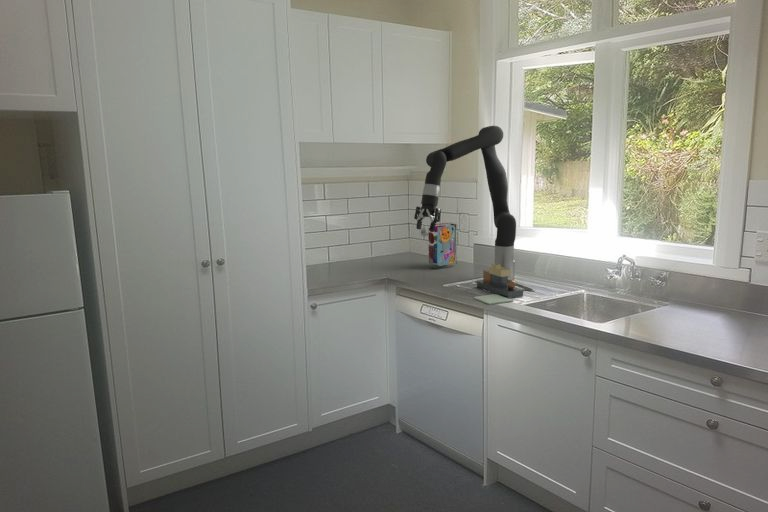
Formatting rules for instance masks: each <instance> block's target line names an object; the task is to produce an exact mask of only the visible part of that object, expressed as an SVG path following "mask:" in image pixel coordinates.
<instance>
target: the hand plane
mask: <svg viewBox="0 0 768 512" xmlns="http://www.w3.org/2000/svg"><path fill="white" fill-rule="evenodd" d="M482 273H483V274H482V280H477V281H476V288H477V289H481V290H483V291H486V292H489V293H491V294H497V295H500V296H503V297H506V298H508V299H515V298H523V297H524V289H523V288H520V287H517V286H515V282H516V279H515V280H508V276H505V277H499V276H496V275H493V274H490V273H489V269H485V270H484V269H483V271H482ZM507 281H508V285H507Z"/></svg>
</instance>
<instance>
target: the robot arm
mask: <svg viewBox="0 0 768 512" xmlns="http://www.w3.org/2000/svg"><path fill="white" fill-rule="evenodd" d="M503 139H504V131H503V129H502V128H501V127H500V126H498V125H489V126H485V127H482V128H481V129H480V130H479V131H478V134H477V135H475V136H473V137H469V138H466V139H463V140H459V141H457V142H455V143H453V144H450V145H448V146H446V147H443V148H440V149H437V150H434V151H432V152H430V153H428V155H426V158H425V162H426V164H427V166H428V167H430V169H429V171H428V172H427V173H426V175H425V179H424V180H425V181H424V185H423V190H422V195H421V202H420V204H421V206H419V205H418V206H416V207H415V211H414V212H415V213H414V216H413V217H414V220H416V221H417V222H416V230H421V229H422V225H423V220H424V219H425V218H429V219H430V224H429V227H430V231H434V230H435V226H437V225H436V224H437V223H439V222H440V221H441V213H442V209H441V208H439V207H438V204H439V197H440V191H441V189H440V186H441V180H442V176H443V174H444V171H445V168H446V165H447V162H452V161H456V160H458V159H460V158H463V157H464V156H467V155H469V154H471V153H473V152H475V151H478V150H481V154H482V157H483V164H484V169H485V172H486V181H487V186H488V190H489V195H490V198H491V200H490V201H491V202H492V209H493V223H494V226H495V228H496V237H495V240H494V259H493V260H494V262H493V264H500V265H501V267H504V268H508V269H510V276H508V279H510V280H515V281H516V279H515V278H516V277H515V276H516V261H515V259H514V255H515V253H514V252H515V241H516V234H517V220H516V218H515V216H514V215H513V214H511V213H510V209H509V205H508V191H509V187H508V186H509V185H508V178H507V173H506V169H505V167H504V166H503V164H502V162H501V161H500V159H499V156H498V155H497V150H496V146H497V145H498V144H500V143H501V142H502V141H503ZM430 231H429V232H430Z"/></svg>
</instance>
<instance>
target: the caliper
mask: <svg viewBox="0 0 768 512" xmlns="http://www.w3.org/2000/svg"><path fill="white" fill-rule="evenodd" d="M508 280H510V279H508ZM507 285H508V281H507ZM515 287H516V288H519V289H522V290H526V291H529V292H536V290H535V289H534V288H533V287H530V286H528V285H524V284H521V283H519V282H517V281H515Z"/></svg>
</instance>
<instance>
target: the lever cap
mask: <svg viewBox="0 0 768 512" xmlns="http://www.w3.org/2000/svg"><path fill="white" fill-rule="evenodd" d="M488 270H489V273H490V274H493V275H496V276H499V277H505V276H510V269H508V268H504V267H501V265H500V264H494V263H492V265H491V266H488Z"/></svg>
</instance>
